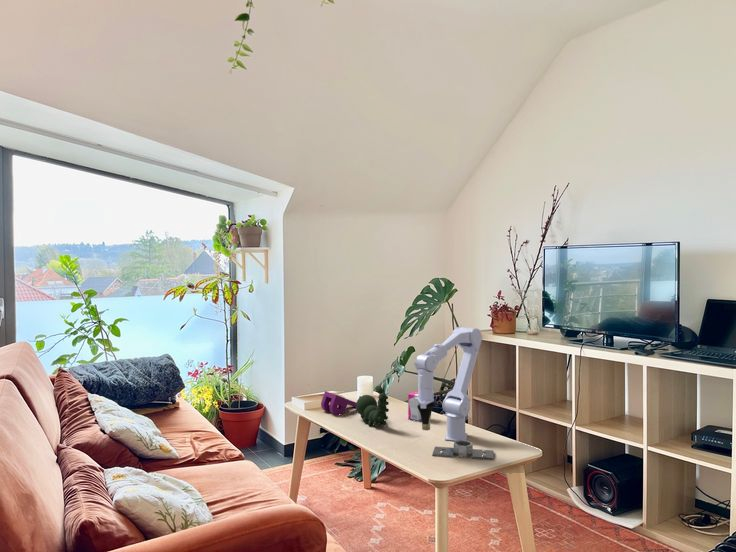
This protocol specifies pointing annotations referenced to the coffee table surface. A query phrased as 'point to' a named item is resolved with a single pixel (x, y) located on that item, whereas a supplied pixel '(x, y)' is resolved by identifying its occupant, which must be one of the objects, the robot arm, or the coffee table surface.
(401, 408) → the coffee table surface
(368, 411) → the toy figurine
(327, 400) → the mounting bracket
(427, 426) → the hinge pin
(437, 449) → the hinge
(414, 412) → the supplement box
